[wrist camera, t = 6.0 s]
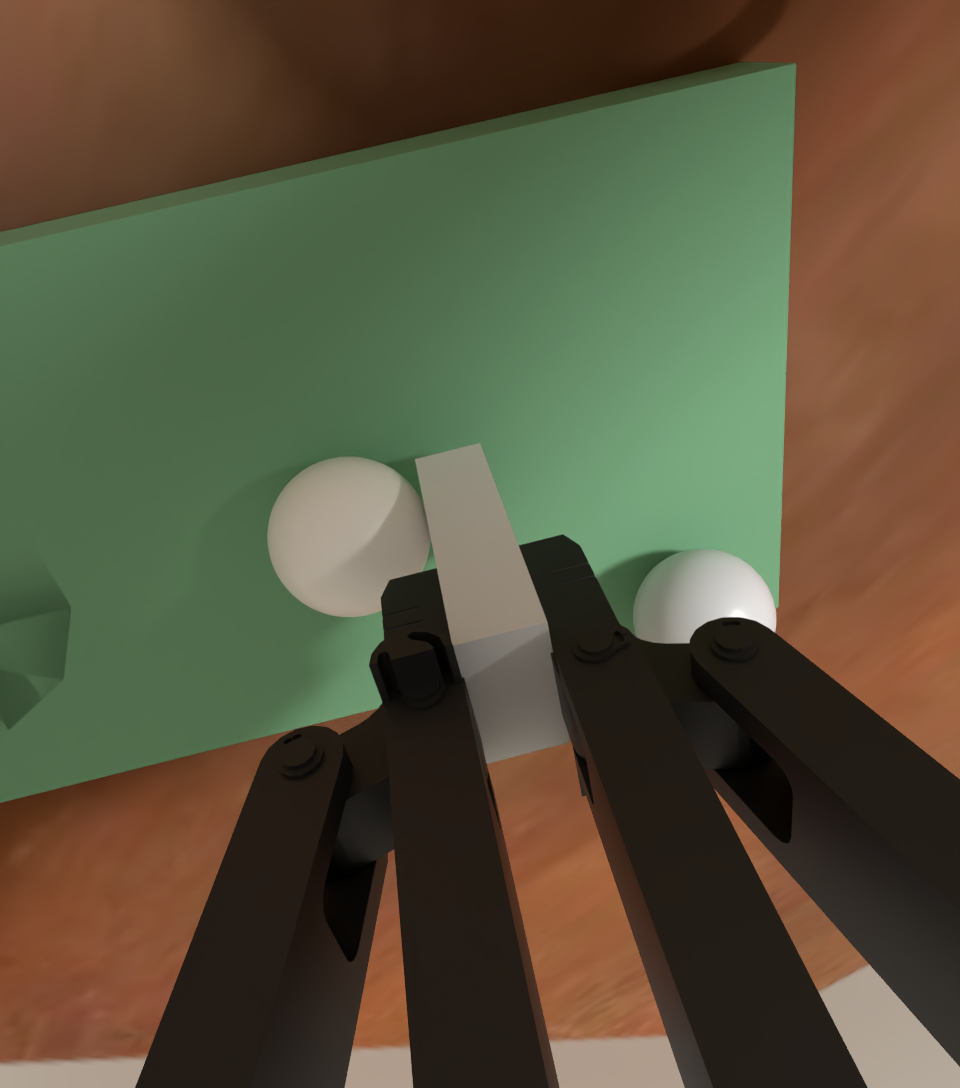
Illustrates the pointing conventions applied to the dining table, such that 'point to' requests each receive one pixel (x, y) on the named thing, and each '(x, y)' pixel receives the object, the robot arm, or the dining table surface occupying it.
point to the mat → (377, 396)
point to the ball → (347, 534)
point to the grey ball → (699, 595)
